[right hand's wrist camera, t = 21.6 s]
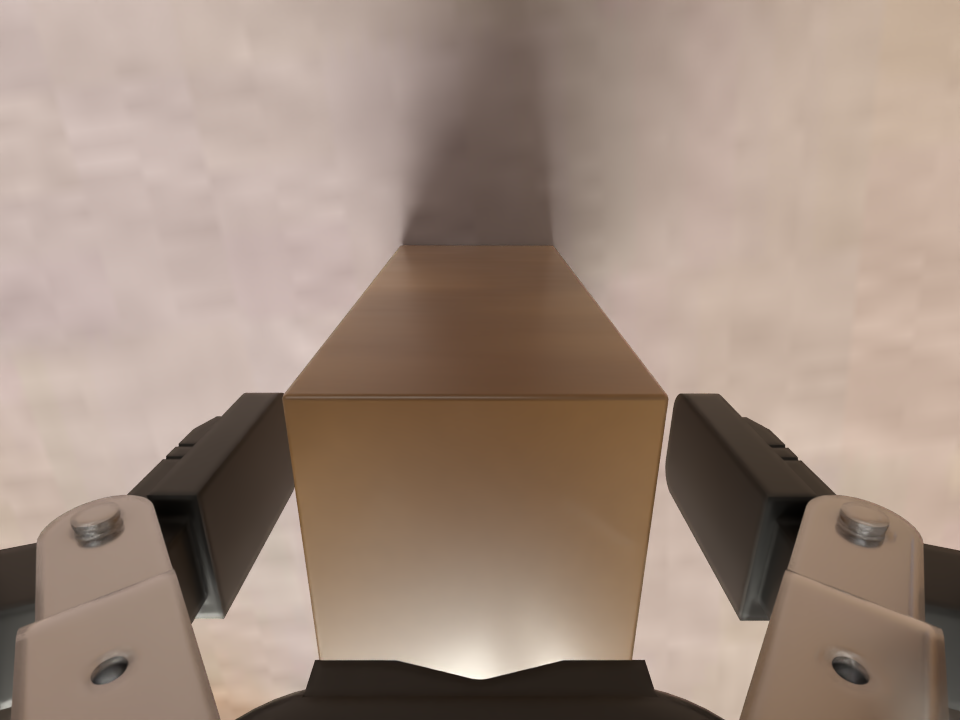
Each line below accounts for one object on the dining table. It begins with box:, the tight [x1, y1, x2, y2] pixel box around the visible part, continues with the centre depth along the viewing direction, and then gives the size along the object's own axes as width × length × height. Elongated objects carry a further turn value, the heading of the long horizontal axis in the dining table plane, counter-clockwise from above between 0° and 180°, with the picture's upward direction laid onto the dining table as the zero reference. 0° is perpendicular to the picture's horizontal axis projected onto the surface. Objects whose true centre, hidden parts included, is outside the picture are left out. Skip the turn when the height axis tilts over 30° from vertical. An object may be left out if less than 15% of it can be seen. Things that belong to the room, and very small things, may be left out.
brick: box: [282, 245, 668, 679], centre depth 13 cm, size 5×5×12 cm
